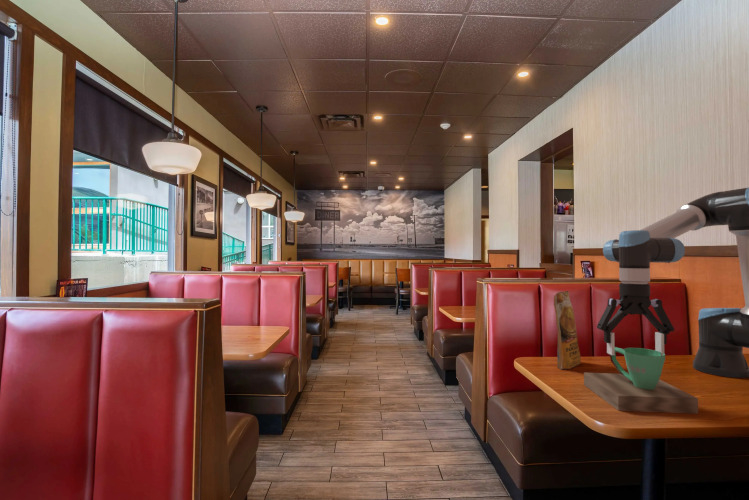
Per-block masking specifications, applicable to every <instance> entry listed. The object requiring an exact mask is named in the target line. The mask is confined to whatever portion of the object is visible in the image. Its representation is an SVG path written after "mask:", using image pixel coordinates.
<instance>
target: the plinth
mask: <svg viewBox="0 0 749 500" xmlns="http://www.w3.org/2000/svg"><path fill="white" fill-rule="evenodd" d="M583 385H584V386H585V388H588V389H589V390H590V391H591V392H593V393H595V394H596V395H597V396H598V397H600V398H601V399H602V400H604V402H606V403H607V404H609V405H611V406H612V407H613V408H615V409H616V410H617V411H619V412H621V411H624V412H642V413H643V412H645V413H647V412H648V413H670V414H672V413H673V414H674V413H675V414H697V415H698V414H699V398H698V397H696V396H694V395H692V394H690V393H688V392H685V391H684V390H681V389H680V388H678V387H676V386H673V384H672V385H671V384H669V383H668V382H665V381H663V380H662V379H661V378H659V381H658V383H657V385H656V387H655V389H652V390H648V389H642V388H638V387H636V386H634V384H633V382H632V381H631V380H629V379H628V378H626V377H625V376H623V375H622V374H621V373H607V372H604V373H603V372H583Z"/></svg>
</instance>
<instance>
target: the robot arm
mask: <svg viewBox="0 0 749 500" xmlns="http://www.w3.org/2000/svg"><path fill="white" fill-rule="evenodd" d="M713 226H727V227H728V232H729V233H731V234H733V235H734V236H735V239H736V247H737V255H738V261H739V262H738V263H739V269H740V277H741V282H742V284H741V285H742V289H743V291H742V292H743V297H744V304H745V305H744V307H742V308H741V307H705V308H700V309H699V311H698V318H697V321H698V349H697V350H696V354H695V357H694V359H693V361H692V368H693V369H694V370H696V371H699V372H702V373H705V374H709V375H713V376H714V375H715V376H719V377H727V378H736V379H737V378H738V379H740V378H741V379H744V378H749V365H748V362H747V359H746V357H745V355H744V352H743V348H746V349H749V186H748V187H744V188H737V189H729V190H725V191H724V190H722V191H717V192H713V193H709V194H707V195H704V196H701V197H699V198H697V199H695V200H692V201H690V202H688V203H685V204H684V205H682V206H680V207H679V208H678V209H677V210H676V211H675V212H674V213H673V214H671V215H668V216H666V217H664V218H661V219H660V220H658V221H656V222H654V223H652V224H650V225H647V226H645V227H644V228H642V229H640V230H639V229H638V230H637V229H636V230H635V229H634V230H622V231H621V232H619V235H618V236H619V237H618V239H610V240H608V241H606V242H605V243H604V245H603V248H602V254H603V257H604V258H605V259H606V260H607V261H608V262H616V263H618V264H619V266H618V268H619V269H618V280H619V281H620V283H619V284H618V290H619V291H618V292H619V293H618V294H619V299H615V298H610V297H609V298H608V300H607V305H606V308H605V310H604V312H603V313H602V315H601V317H600V319H599V321H598V324H597V325H596V328H597V329H598V330H600V331H603V341H604V343H606V354H608V355H609V356H610V355H615V353H616V352H615V347H616V346H615V332H613V330H614V329H615V328H616V327H617V326H618V325H619V324H620V323H621V322H622V321H623V319H624V318H625V317H626V316H629V315H632V316H633V315H639V316H642V315H643V316H644V317H645V318H646V319H647V320H648V321H649V322H650V324H651V325H652V326H653V327H654V328H655V329H656V331H654V342H655V343H654V344H655V346H654V348H655V349H654V350H655V351H659V352H661V355H663V353H664V354H665V345H667V344H668V342H667V341H668V339H667V338H668V335H670V332H674V331H675V327H674V326H673V323H672V322H671V321H670V318H669V317H668V314H667V312H666V311H665V309H664V308H663V301H662V299H658V298H653V299H650V296H651V285H650V284H649V283H650V282H651V269H650V268H651V263H659V264H660V263H661V264H662V263H665V264H670V263H675V262H678V261H680V260H682V259H683V257H684V256H685V252H686V250H685V249H686V248H685V245H684V243H683V242H682V241H681V240H680V239H677V237H680V236H681V235H684V234H686V233H688V232H690V231H699V230H701V229H703V228H706V227H713ZM618 306H620V307H619V308H618V309H617V311H616V308H617V307H618ZM650 306H651V307H652V308H653V310H654V312H655V313H656V315H657V317H658V318H657V317H656V316H655V315H654V313H653V311H651V310H650V308H649V307H650ZM615 311H616V313H615ZM614 313H615V314H614Z"/></svg>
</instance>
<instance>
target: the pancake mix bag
mask: <svg viewBox="0 0 749 500" xmlns="http://www.w3.org/2000/svg"><path fill="white" fill-rule="evenodd" d="M553 307H554V313H555V322H556V323H555V324H556V328H557V352H556V353H557V354H556V355H557V361H556V363H557V364H556V365H557V366H556V367H557V368H558V369H559V370H571V369H573V368H575V367H577V366H579V365H581V364H582V363H581V362H582V359H581V353H580V348H579V342H578V334H577V326H576V319H575V318H576V316H575V313H574V308H573V305H572V302H571V298H570V293H569V291H560V292H557V293H555V295H554V296H553Z"/></svg>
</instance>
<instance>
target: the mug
mask: <svg viewBox="0 0 749 500" xmlns="http://www.w3.org/2000/svg"><path fill="white" fill-rule="evenodd" d="M614 347H615V355H610V354H609V358H610V362H611V363H612V365H613V366H614V367H615V369H616V370H617V371H618V372H619V374H622V375H623V376H625V377H626V378H628V379H629V380H631V381H632V382H633V384H634V386H636V387H638V388H642V389H648V390H652V389H655V387H656V385H657V383H658V381H659V379H661V375H662V372H663V367H664V364H665V361H666V354H665V352H664V353H663V355H661V352H659V351H655V349H649V348H641V347H626V348H621V347H617V346H614ZM616 353H619V354H622V355H624V358H625V359H624V360H625V365H626V367H627V371H626V370H625V369H624V368H623V367H622V365H621V363H620V361H618V359H617V356H616Z"/></svg>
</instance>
